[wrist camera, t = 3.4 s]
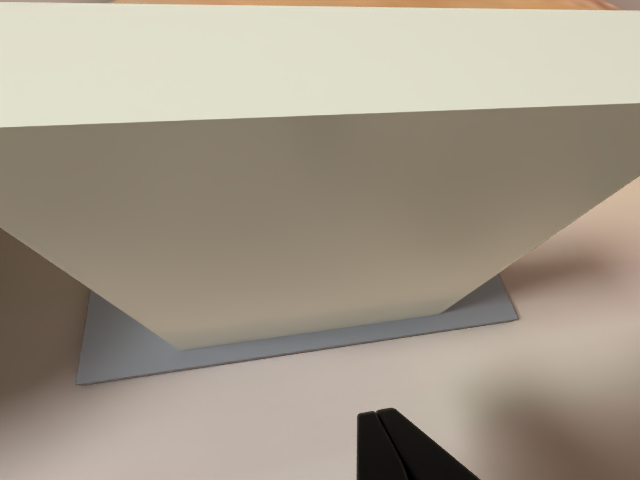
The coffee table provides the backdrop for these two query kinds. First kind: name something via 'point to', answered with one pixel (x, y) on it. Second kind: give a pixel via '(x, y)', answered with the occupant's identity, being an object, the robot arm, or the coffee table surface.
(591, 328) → the coffee table surface
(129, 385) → the coffee table surface
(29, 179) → the ceramic tile
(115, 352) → the slate mat
